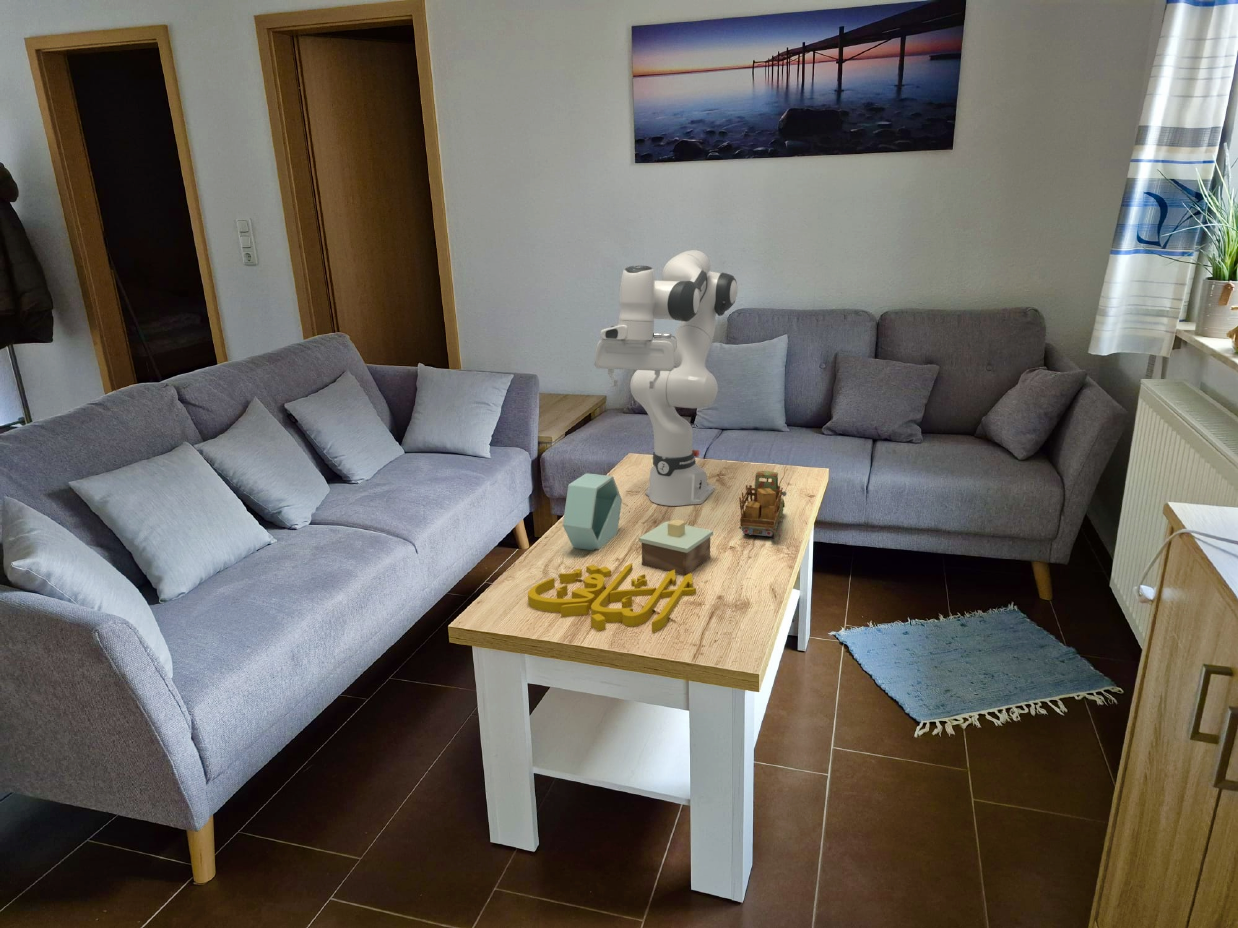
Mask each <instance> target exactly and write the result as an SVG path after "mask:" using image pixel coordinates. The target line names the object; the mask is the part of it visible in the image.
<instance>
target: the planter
mask: <svg viewBox="0 0 1238 928" xmlns="http://www.w3.org/2000/svg"><path fill="white" fill-rule="evenodd" d="M616 483H617V482H616V480H615V477H614V476H613V475H604V474H597V473H588V472H586V473H584V474H583V475H581V476H579V477H578V478H577V479H575V480H573V481H571V483H569V484H568V485H567V491H566V492H567V494H566V501H565V506H564V514H563V519H562V527H563V529H564V532H565V533H566V536H567V538H568V539H569V542H570V543H571V546H572V548H573V549H580V550H586V551H595V550H600V549H602V548H603V547H604V546H605V545H607V543H609V542H610V541H611V540H612V539H613V538H614V537H616V536H617V535H618V531H619V530H618V529H619V523H620V515H621V510H622V509H621V508H622V503H623V500H622V497H621V494H620V491H619V489H618V488H619V487H618V486H617V484H616Z"/></svg>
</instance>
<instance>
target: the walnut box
mask: <svg viewBox="0 0 1238 928" xmlns="http://www.w3.org/2000/svg"><path fill="white" fill-rule="evenodd" d="M710 559H711V537H709V538H708V539H706V540H705V541H703V542H702V543H701V544H699V545H698V546H696V547H695V548H693V549H692V550H690V551H689V552H687V553H685V552H681V551H677V550H672V549H668V548H663V547H659V546H655V545H650V544H646V543H642V542H641V565H642V566H644V567H647V568H653V569H655V570H656V569H657V570H660V571H665V572H667V573H668V572H670V571H672V570H674V569H675V575H676V574H677V575H681V576H683V577H684V576H686V575H688V574H690V573H692V572H694V570H696V569H698V568H699V567H700V566H702V565H703V564H704V563H706V562H707V561H708V560H710Z"/></svg>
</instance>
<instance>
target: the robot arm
mask: <svg viewBox="0 0 1238 928" xmlns="http://www.w3.org/2000/svg"><path fill="white" fill-rule="evenodd" d="M661 272H662V273H661V280H657V279H656V278H655V271H654V268H653V267H651V266H649V265H631V266H627V267H626V268H624V269H623V270H622V274H621V277H620V278H621V280H620V286H619V287H620V288H619V296H618V297H619V299H618V300H619V301H618V303H619V307H620V310H619V311H620V312H619V315H618V324H617V325H612V326H610V327H607V328H603V329H601V330H600V332H599V336H600V338H601V339H600V340H599V341H598V342H597V345H596V348H595V352H594V353H595V354H594V361H593V366H595V368H596V369H603V370H604V369H605V370H607V374H608V376H609V379H610V380H611V388H618V386H619V380H618V379H616V378H615V377H614V375H613V374H615V372H614V371H615V370H626V371H627V370H631V371H635V372H634V374H633V375H631V376H632V377H631V379H630V387H629V388H630V393H631V395H632V397H633V398H634V400H635V401H636V402H638V404H640V405H641V406H642V408H644V410H645V412H646V413H647V415H648V417H649V419H650V422H651V424H652V430H653V438H654V439H653V443H654V444H653V445H654V450H653V452H652V465H653V466H652V467H651V468H650V469H649V479H648V489H645V495H647V496H648V498H649V499H648V500H649V501H650V502H652V503H653V504H654V503H655V504H657V505H661V506H669V507H673V506H674V507H675V506H676V507H678V506H688V505H702V504H703V503H704V502H705V501H706V499H708V498H709V496H710V495H712V494H713V492H714V491H715V486H714V485H712V484H710V483H708V481H707V480H708V478H707V477H708V476H707V472H706V471H705V470H704V469H703V468H702V467H701V466H700V465H698V464H697V463H696V462H697V460H696V458H698V457H699V456H700V451H699V450H697V449H693V428H692V425H691V424H690V422H689V421H687V420H686V419H685V418H684V417H682V416H681V415H679V413H678V412H677V410H676V407H677V408H685V409H686V408H687V409H698V408H699V409H700V408H706V407H707V408H709V407H710V406H711V405H712V404H714V402H715V400H716V398H717V395H718V392H719V391H718V390H719V385H718V381H717V380H716V377H715V376H714V375H713V373H711V372H710V371H709V370H708V369H707V367H706V360H707V356H708V354H709V350H710V349H711V346H712V343H713V340H714V336H715V332H716V324H717V320H716V316H718V317H721V316H723V315H725V312H727V311H728V310H730V309H731V308H732V307H733V306H734V304H735V302H736V299H737V297H738V291H739V289H738V283H737V280H736V278H735V276H734V275H732V274H729V273H727V272H716V271H711V262H710V260H709V258H708V256H707V255H706V254H705V253H704V252H702V251H700V250H696V249H691V250H686V251H683V252H681V253H678V254H676V255H675V256H673V257H672V258H670V259H669V260H668V261H667V262H666V264H665V265H664V267H663V269H662V271H661ZM655 279H656V280H655ZM656 319H657V320H669V321H670V320H671V321H672V320H674V321H680V323H679V326H677V329H676V331H675V334H674V335H672V334H671V333H660V332H659V333H657V332H654V328H655V327H654V326H655V320H656Z"/></svg>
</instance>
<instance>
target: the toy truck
mask: <svg viewBox="0 0 1238 928" xmlns="http://www.w3.org/2000/svg"><path fill="white" fill-rule="evenodd" d="M778 477H779V473H778V472H776V471H772V470H771V471H770V470H757V471H756V472H755V476H754V479H755V480H754V487H753V485H752V484H751V485H750V484H749V487H748V484H746V485H745V493H744V492H741V496H739V497H738V499H739V500H738V502H739V510H740V519H739V525H740V526H739V528H738V529H739V530H741V532H742V534H743V535H744V536H748V537H749V536H753V535H754V536H765V537H768V539H770V540H774V538H775V536H776V533H777V528H778V524H781V523H782V521H783V514H784V508H785V499H784V498H782V497H786V496H787V492H786V491H784V490H783V489H784V487H781V486H780V485H779V478H778ZM760 479H765V481H763V480H762V481H761V480H760ZM769 479H771V481H769ZM749 499H750V500H749Z"/></svg>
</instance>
